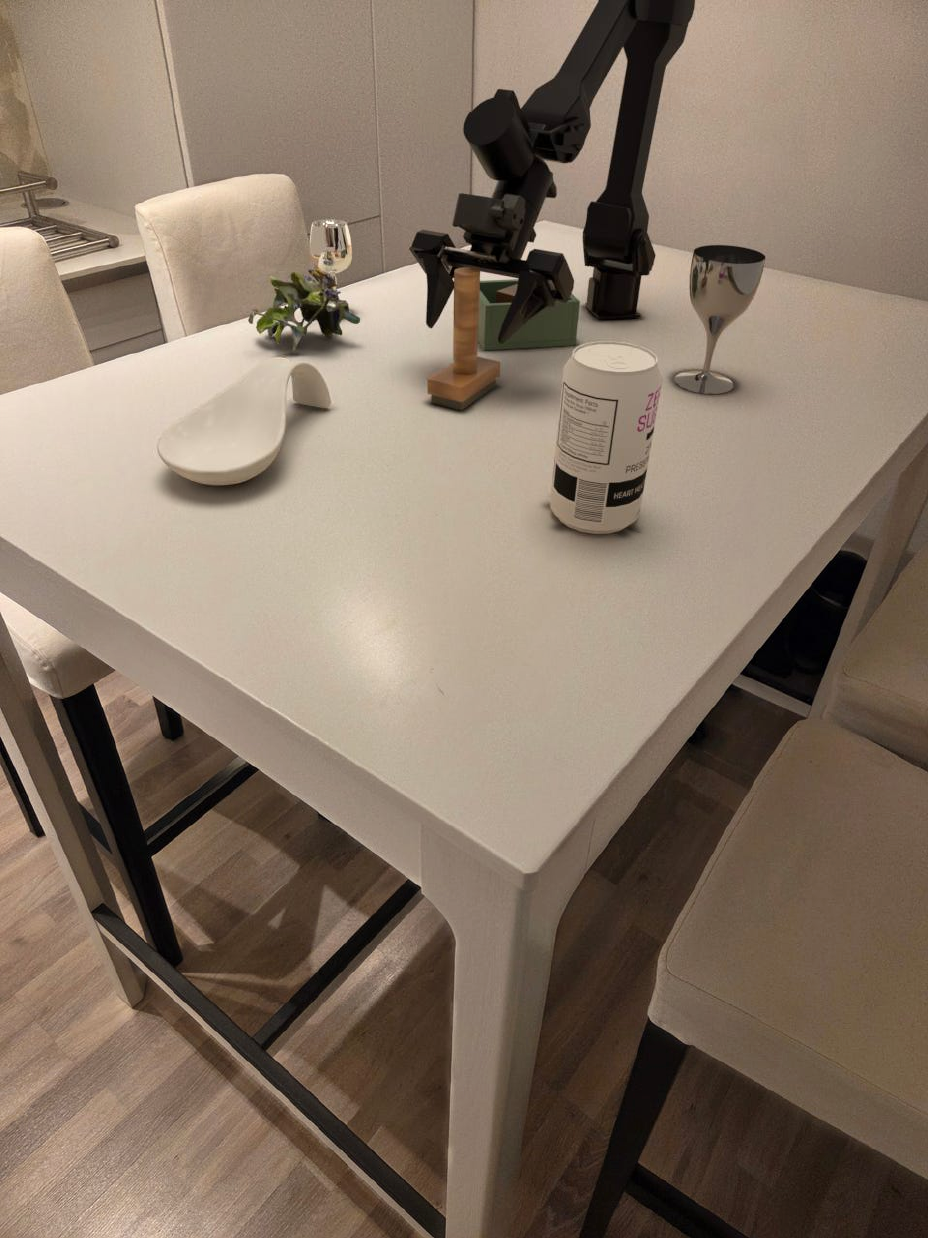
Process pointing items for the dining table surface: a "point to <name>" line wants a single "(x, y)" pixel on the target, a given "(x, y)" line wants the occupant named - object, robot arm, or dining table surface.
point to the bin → (539, 331)
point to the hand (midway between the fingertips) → (463, 333)
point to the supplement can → (604, 435)
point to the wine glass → (719, 302)
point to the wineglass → (330, 246)
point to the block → (506, 294)
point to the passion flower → (305, 306)
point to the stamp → (464, 350)
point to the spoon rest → (240, 424)
